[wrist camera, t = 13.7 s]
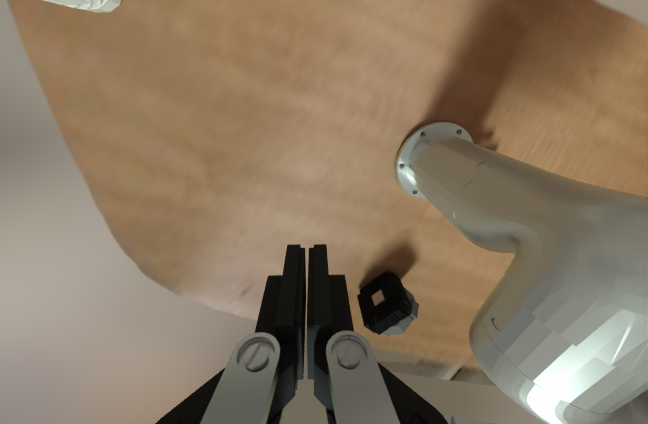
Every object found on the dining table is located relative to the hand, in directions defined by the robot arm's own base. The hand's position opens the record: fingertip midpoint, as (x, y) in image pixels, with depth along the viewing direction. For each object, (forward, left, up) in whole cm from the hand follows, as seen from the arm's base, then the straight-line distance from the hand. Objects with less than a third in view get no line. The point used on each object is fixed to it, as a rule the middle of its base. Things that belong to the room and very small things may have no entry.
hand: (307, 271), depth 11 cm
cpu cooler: (-13, +32, -30) cm, 46 cm away
